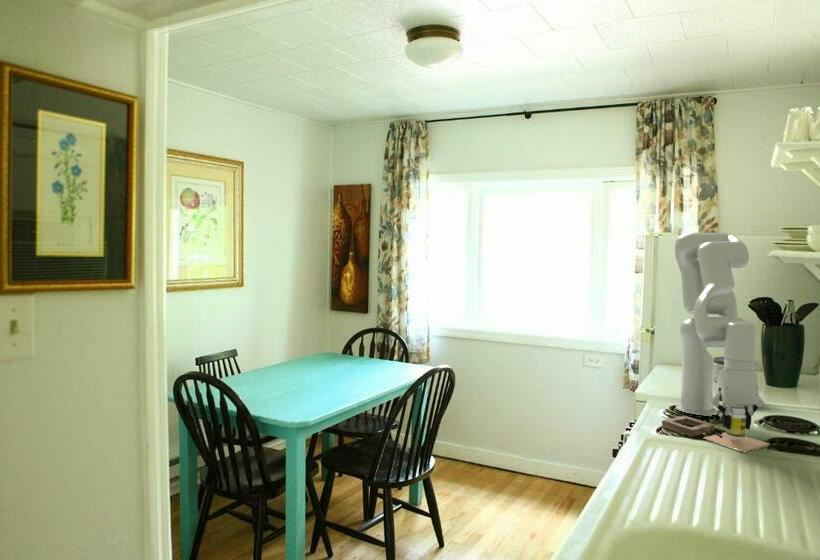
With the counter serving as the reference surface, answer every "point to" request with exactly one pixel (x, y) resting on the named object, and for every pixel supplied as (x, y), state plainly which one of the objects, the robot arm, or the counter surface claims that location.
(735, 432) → the supplement bottle
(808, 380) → the counter surface
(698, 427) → the walnut cup holder
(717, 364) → the coffee can
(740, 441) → the terracotta coaster
